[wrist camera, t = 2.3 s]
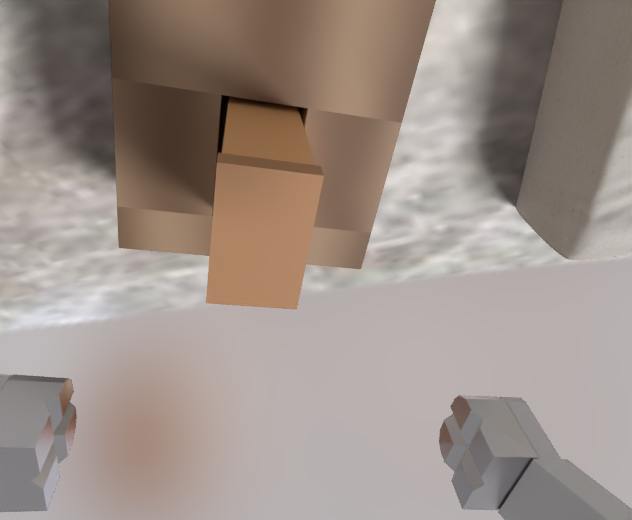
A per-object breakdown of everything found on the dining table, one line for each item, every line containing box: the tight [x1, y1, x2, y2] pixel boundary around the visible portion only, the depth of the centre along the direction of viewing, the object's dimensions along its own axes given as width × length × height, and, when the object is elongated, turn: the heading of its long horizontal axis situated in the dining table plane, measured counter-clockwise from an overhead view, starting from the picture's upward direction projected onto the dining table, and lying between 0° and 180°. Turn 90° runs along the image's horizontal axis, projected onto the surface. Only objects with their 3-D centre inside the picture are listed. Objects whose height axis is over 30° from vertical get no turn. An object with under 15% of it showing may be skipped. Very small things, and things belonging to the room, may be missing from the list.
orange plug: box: [206, 96, 324, 309], centre depth 20 cm, size 3×5×10 cm, turn 169°
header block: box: [109, 0, 436, 269], centre depth 21 cm, size 12×21×6 cm, turn 170°
